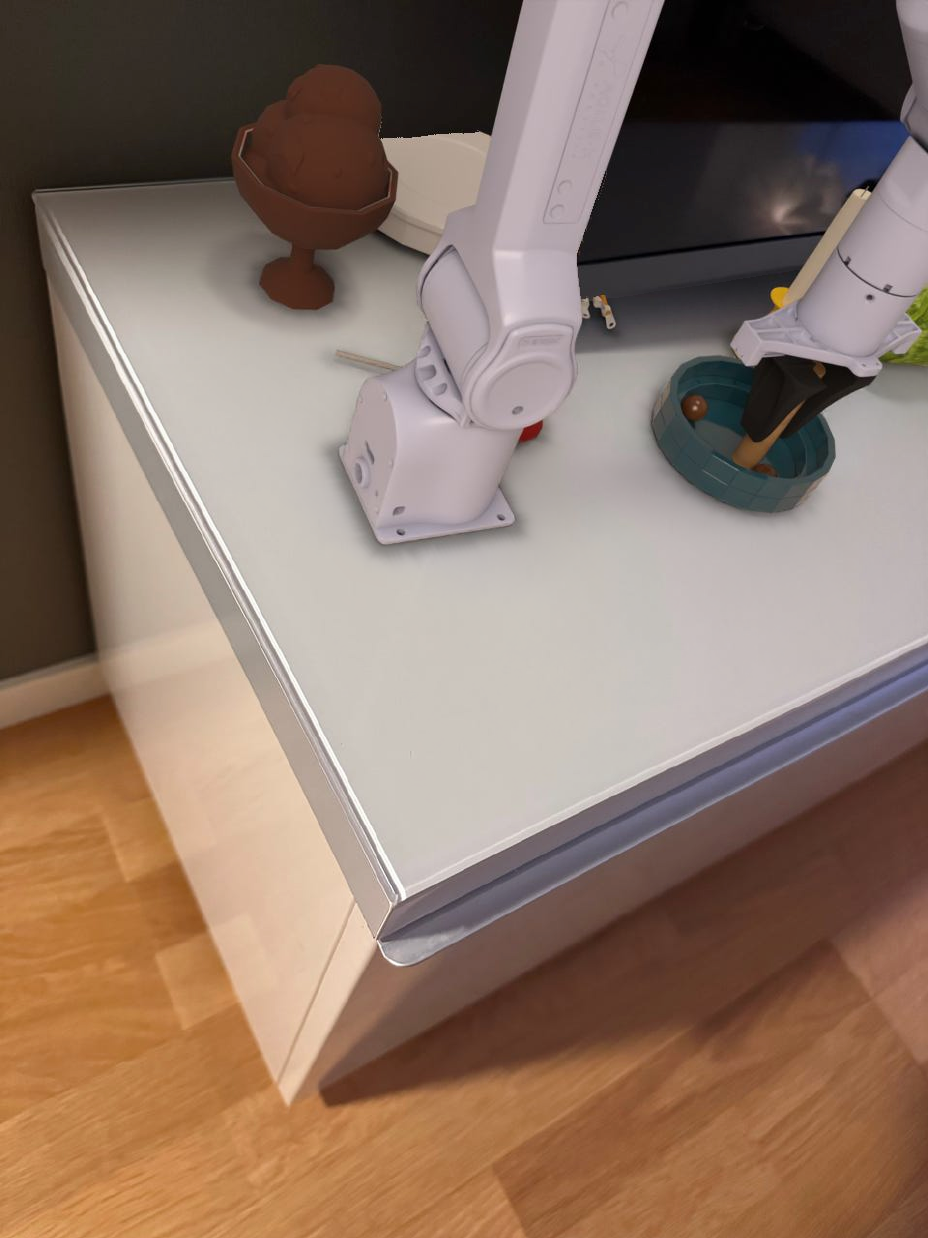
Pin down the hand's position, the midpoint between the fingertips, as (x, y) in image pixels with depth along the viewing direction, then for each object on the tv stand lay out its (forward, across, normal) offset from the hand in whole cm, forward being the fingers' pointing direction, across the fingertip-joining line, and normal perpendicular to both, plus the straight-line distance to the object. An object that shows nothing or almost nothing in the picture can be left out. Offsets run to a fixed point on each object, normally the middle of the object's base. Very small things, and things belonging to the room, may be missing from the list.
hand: (763, 430), depth 68 cm
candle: (+4, +11, +12) cm, 17 cm away
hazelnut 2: (+3, 0, -2) cm, 3 cm away
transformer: (+2, +2, +25) cm, 25 cm away
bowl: (+4, +1, +2) cm, 5 cm away
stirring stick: (+3, 0, 0) cm, 3 cm away
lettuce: (-2, +30, +19) cm, 36 cm away
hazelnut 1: (+3, -1, +5) cm, 6 cm away
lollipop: (+4, -20, +11) cm, 23 cm away
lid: (+4, -10, +33) cm, 35 cm away
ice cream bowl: (+4, -27, +22) cm, 35 cm away
